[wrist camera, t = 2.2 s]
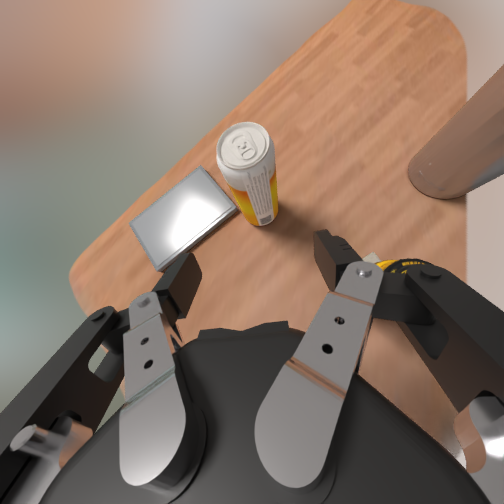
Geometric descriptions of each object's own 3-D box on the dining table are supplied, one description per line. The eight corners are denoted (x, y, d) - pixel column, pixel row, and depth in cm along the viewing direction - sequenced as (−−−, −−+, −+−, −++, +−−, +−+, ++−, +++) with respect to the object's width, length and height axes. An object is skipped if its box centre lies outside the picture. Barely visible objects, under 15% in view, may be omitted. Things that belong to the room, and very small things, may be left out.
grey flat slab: (203, 169, 36) (200, 164, 34) (238, 210, 32) (236, 206, 31) (133, 225, 36) (128, 222, 35) (161, 272, 32) (156, 271, 31)
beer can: (267, 189, 32) (254, 108, 18) (285, 215, 31) (286, 149, 16) (238, 206, 33) (203, 140, 18) (254, 233, 31) (229, 183, 17)
